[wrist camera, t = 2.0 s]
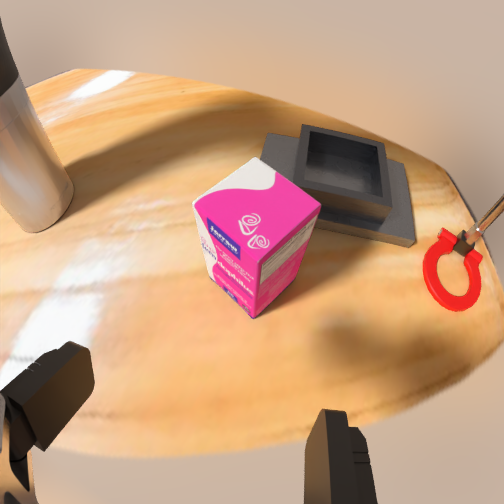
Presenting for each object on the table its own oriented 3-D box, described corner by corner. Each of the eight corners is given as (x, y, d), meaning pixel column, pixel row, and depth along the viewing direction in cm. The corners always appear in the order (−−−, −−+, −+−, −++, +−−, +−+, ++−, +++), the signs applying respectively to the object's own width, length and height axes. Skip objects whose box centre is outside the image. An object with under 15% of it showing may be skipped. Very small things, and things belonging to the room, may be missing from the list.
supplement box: (206, 279, 27) (187, 198, 17) (252, 240, 30) (257, 151, 20) (252, 323, 26) (258, 261, 16) (297, 279, 28) (326, 200, 18)
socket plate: (246, 214, 31) (247, 185, 27) (266, 141, 37) (269, 113, 33) (409, 247, 30) (428, 224, 26) (399, 171, 36) (411, 147, 32)
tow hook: (466, 325, 26) (481, 262, 29) (548, 279, 14) (545, 204, 18) (411, 289, 28) (432, 227, 31) (483, 222, 17) (487, 155, 20)
